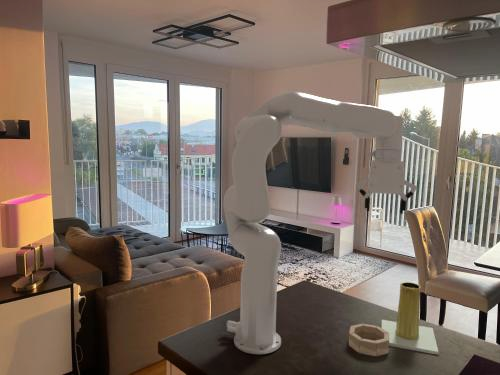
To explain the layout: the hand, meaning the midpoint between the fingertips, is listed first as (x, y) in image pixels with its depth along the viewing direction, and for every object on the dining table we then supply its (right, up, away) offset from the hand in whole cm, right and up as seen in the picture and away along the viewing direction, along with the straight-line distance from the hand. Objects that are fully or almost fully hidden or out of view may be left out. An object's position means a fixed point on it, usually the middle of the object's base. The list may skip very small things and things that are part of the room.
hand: (384, 211), depth 115 cm
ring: (-10, -35, -15) cm, 39 cm away
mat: (+3, -35, -10) cm, 36 cm away
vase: (+3, -34, -10) cm, 35 cm away
